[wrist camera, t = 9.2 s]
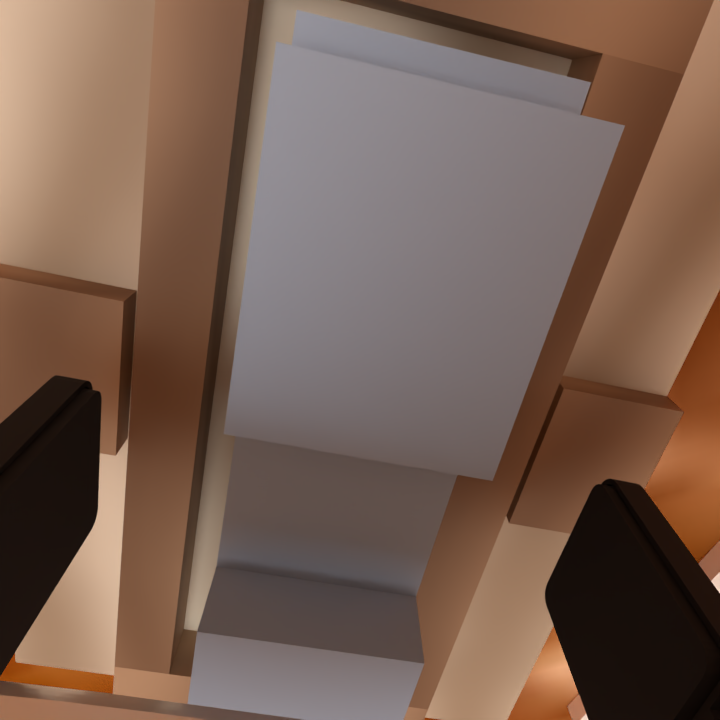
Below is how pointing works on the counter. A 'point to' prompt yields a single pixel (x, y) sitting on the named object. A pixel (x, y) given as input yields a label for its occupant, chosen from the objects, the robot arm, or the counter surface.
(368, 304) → the notched grey stepped bar
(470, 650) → the jig
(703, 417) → the counter surface
